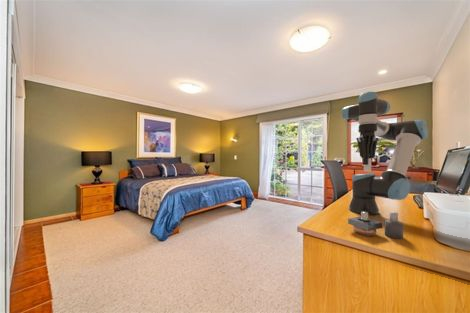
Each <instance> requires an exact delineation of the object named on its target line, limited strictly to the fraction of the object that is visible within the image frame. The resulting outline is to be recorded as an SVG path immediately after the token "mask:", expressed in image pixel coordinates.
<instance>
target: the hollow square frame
mask: <svg viewBox="0 0 470 313" xmlns="http://www.w3.org/2000/svg"><path fill="white" fill-rule="evenodd" d="M347 224H348V225H350V226H352V227H353V226H356V227H358V228H361V229H364V230H367V231H370V230H375V229H376V230H379V229H383V222H382V221H378V220H376V219H372V218H369V217H368V222H363V221H361V215H360V216H355V217H348V218H347Z"/></svg>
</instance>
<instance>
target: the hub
mask: <svg viewBox="0 0 470 313" xmlns="http://www.w3.org/2000/svg"><path fill="white" fill-rule="evenodd" d="M360 216H361V221H363V222H368V218H369V215H368V212H363V211H362V212H361V214H360ZM352 227H353V230H352V231H353V233H355V234H357V235H359V236H364V237H376V236H377V229H375V230H370V231H367V230H364V229H361V228H358V227H356V226H353V225H352Z"/></svg>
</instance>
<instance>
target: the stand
mask: <svg viewBox="0 0 470 313" xmlns="http://www.w3.org/2000/svg"><path fill="white" fill-rule="evenodd" d="M384 235H385V237H388V238H391V239H395V240H403V239H404V222H402V221H399V212H397V211H389V219H385V220H384Z"/></svg>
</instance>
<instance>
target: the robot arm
mask: <svg viewBox="0 0 470 313" xmlns="http://www.w3.org/2000/svg"><path fill="white" fill-rule="evenodd" d="M390 109H391V104H390V102H389V101H387V100H385V99H382V98H381V99H380V98H378V93H377V92H376V91H366V92H361V94H359V96H358V104H354V105H347V106H345V107H343V108H342V109H341V117H342V118H343V119H344V120H353V121H355V122H356V123H358V124H359V125H358V133H360V135H359V137H356V141H357V146H358V153H359V156H360V158H361V159H363V172H372V159H374V158H375V157H376V151H377V146H378V141H379V138H381V139H384V140H388V141H392V142H393V141H396V142H397V143H396V144H395V147H394V150H393V152H392V155H391V157H390V160H389V163H388V165H387V168H386V170H384V171H382V172H381V175H380V176H378V175H376V173H358V174H353V176H352V180H351V181H352V182H351V183H352V198H351V200H350V204H349V205H348V206H349V208H348V209H349V211H351V212H353V213H356V214H359V215H361V212H362V211H363V212H368V216H369V215H370V216H374V215H375V216H377V215H379V213H380V212H379V211H380V209H379V206H378V204H377V200H376V197H378V198H383V199H389V200H396V201H402V200H405V199H406V198H408V195H409V194H410V191H411V182H410V180H409V179H408V177H407V176H406V175H407V172H408V169H409V166H410V163H411V160H412V157H413V155H414V152H415V150H416V149H415V148H416V146H417V145H419V144H420V143H421V142H422V140H425V139H426V140H427V139H428V137H429V129H428V125H427V123H426V121H425V120H423V119H414V120H408V121H405V120H404V121H400V122H399V121H398V122H397V121H396V122H386V121H383V120H381V119H379V118H378V116H383V115H386V114H387V113H389V111H390ZM378 137H379V138H378Z"/></svg>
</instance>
